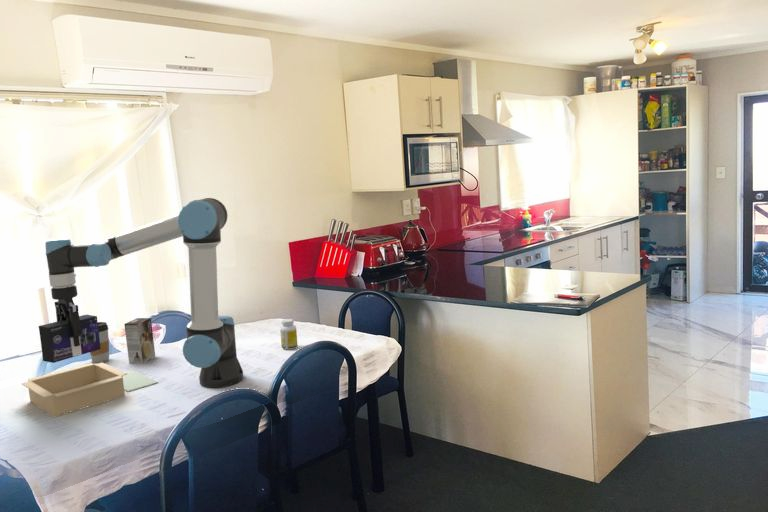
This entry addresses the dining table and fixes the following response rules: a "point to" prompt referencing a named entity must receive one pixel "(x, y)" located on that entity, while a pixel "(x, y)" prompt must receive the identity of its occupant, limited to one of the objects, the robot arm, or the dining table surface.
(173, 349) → the dining table surface
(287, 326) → the pill bottle
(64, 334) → the box
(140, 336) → the coffee box
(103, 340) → the coffee cup
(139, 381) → the mat
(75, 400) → the tan open rectangular tray
